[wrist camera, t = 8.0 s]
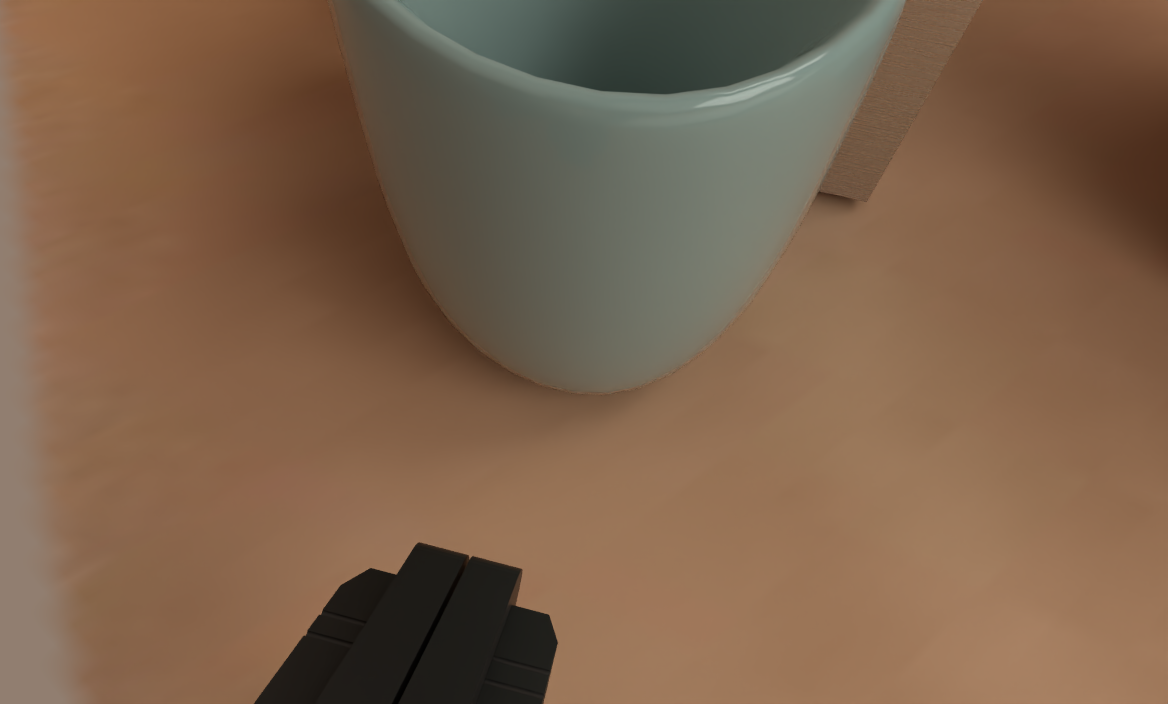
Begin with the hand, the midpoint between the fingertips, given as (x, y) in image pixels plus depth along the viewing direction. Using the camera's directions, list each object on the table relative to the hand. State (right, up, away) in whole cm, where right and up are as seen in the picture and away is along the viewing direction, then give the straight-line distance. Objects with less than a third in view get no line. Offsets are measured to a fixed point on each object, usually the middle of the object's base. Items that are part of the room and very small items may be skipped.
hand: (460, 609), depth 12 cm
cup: (+2, +5, +8) cm, 10 cm away
